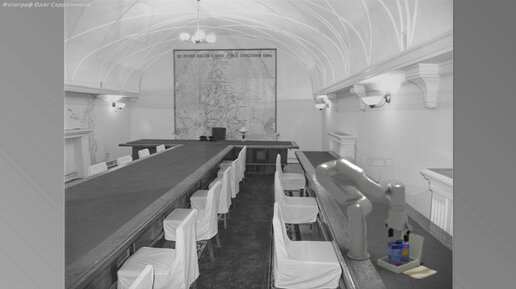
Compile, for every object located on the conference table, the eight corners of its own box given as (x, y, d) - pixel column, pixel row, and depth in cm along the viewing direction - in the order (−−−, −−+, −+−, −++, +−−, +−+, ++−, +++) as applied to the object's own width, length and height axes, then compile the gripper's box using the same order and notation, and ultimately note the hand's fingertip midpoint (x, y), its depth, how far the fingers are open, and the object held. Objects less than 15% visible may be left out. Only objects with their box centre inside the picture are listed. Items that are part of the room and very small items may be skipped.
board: (402, 273, 177) (402, 272, 177) (421, 266, 184) (420, 265, 184) (418, 280, 169) (418, 278, 169) (436, 272, 176) (436, 271, 176)
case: (377, 264, 188) (377, 238, 187) (403, 256, 198) (403, 230, 197) (397, 273, 177) (397, 245, 176) (424, 263, 187) (424, 236, 186)
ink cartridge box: (392, 268, 183) (392, 241, 182) (387, 264, 189) (386, 237, 188) (410, 266, 185) (409, 239, 184) (404, 262, 190) (404, 236, 189)
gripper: (379, 205, 190) (380, 236, 191) (406, 211, 175) (407, 245, 176) (389, 203, 194) (390, 233, 195) (416, 209, 179) (417, 242, 180)
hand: (398, 239), depth 186 cm, fingers open, 9 cm apart
